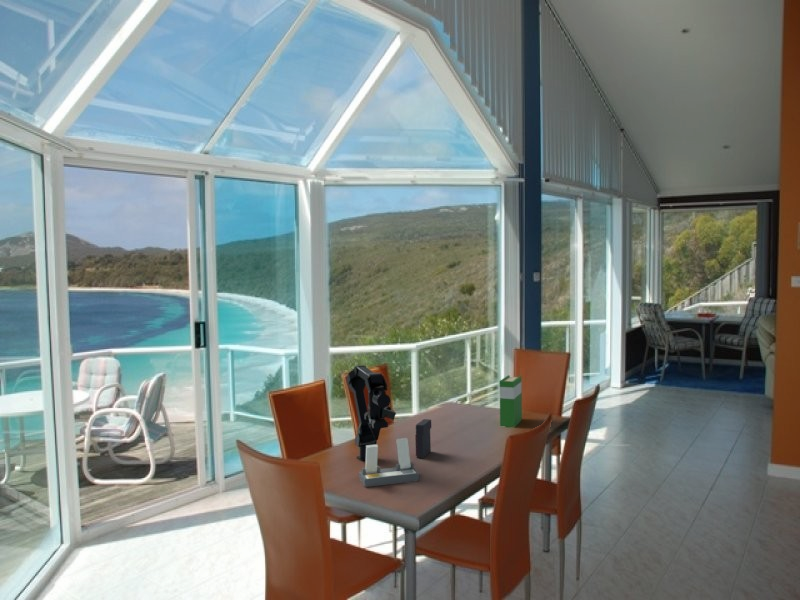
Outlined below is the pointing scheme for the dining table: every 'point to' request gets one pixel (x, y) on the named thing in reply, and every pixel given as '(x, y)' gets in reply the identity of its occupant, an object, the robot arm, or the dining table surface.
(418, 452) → the dark gray upright box
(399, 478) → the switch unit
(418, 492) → the dining table surface
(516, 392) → the hardback book
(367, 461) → the white switch lever
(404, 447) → the lever slate
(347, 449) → the dining table surface
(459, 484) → the dining table surface
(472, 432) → the dining table surface
